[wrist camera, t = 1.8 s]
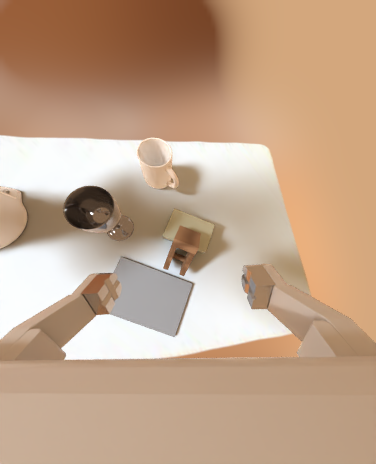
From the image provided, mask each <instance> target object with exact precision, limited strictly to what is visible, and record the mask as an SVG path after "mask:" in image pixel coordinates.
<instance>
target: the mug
mask: <svg viewBox="0 0 376 464" xmlns="http://www.w3.org/2000/svg"><path fill="white" fill-rule="evenodd" d="M137 156H138V159H139V163H140V166H141V169H142V172H143V176H144V179H145V181H146V183H147V184H148V185H149V186H151V187H152V188H155V189H162V188H165V187H166V186H169V187H171V188H177V187H178V185H179V180H178V177H177V175H176V173H175V172H174V171H173V169H172V150H171V147H170V146H169V144H168V143H167V142H165V141H164V140H162V139H159V138H148V139H145V140H143V141H142V142H141V143H140V144H139V145H138V148H137ZM171 178H172V179H173V181H174V183H172V182H171Z"/></svg>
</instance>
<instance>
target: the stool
mask: <svg viewBox="0 0 376 464" xmlns="http://www.w3.org/2000/svg"><path fill="white" fill-rule="evenodd" d="M200 237H201V233H199V232H196V231H193V230H191V229H188V228H186V227H183V226H181V225H180V226H179V229H178V231H177V233H176V235H175V238H174V240H173V243H172V245H171V248H170V251H169V254H168V257H167V259H166V262H165V265H164V267H163V268H164V269H166V270H168V268H169V265H170V263H171V260H172V258H175V259H177V260H180V261H183V263H182V267H181V270H180V275H182V276H184V275H185V273H186V271H187V269H188V267H189V265H190V263H191V261H192V259H193V257H194V256H195V255H196V253H197V251H198V249H199V244H200ZM176 248H179V249H182V250H184V251H187V254H186V256H183V255H180V254H178V253H175V251H176Z"/></svg>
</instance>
